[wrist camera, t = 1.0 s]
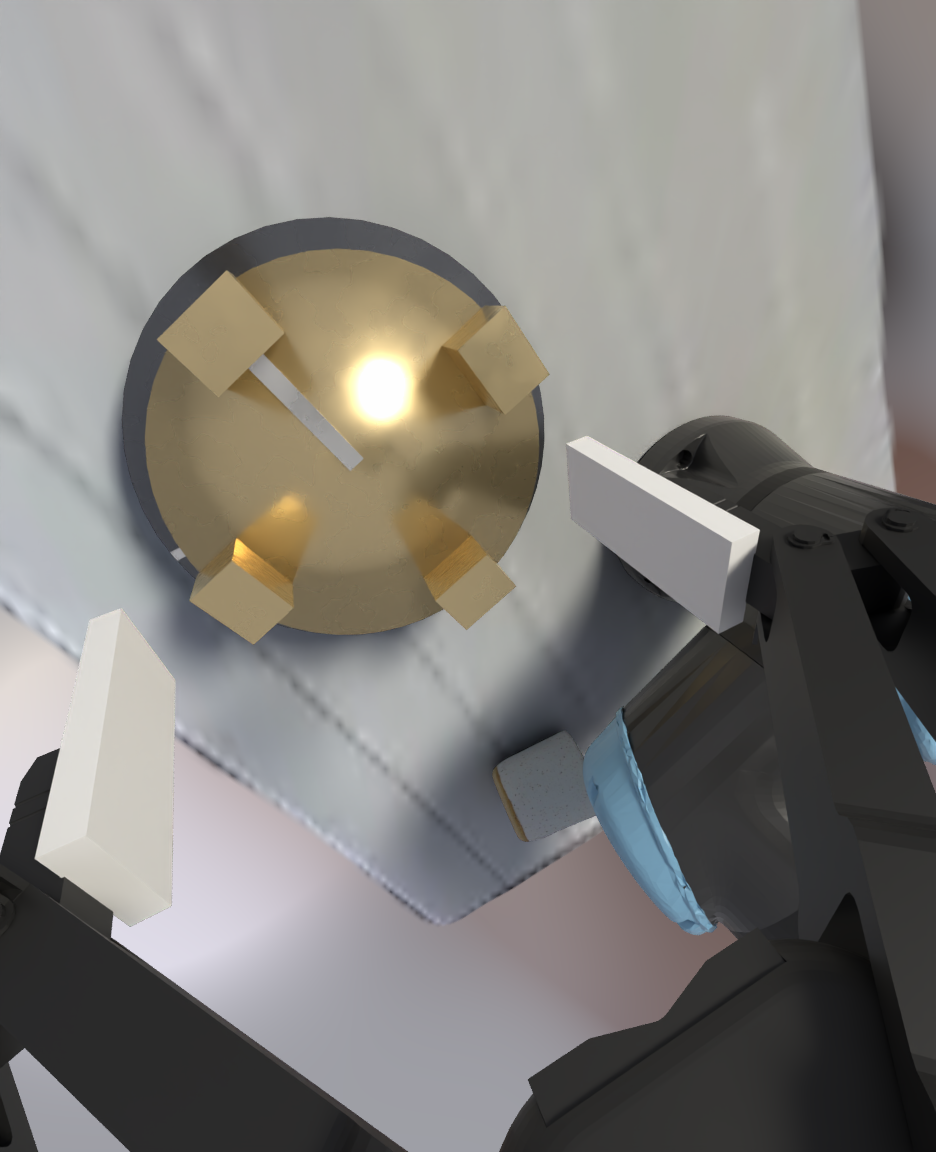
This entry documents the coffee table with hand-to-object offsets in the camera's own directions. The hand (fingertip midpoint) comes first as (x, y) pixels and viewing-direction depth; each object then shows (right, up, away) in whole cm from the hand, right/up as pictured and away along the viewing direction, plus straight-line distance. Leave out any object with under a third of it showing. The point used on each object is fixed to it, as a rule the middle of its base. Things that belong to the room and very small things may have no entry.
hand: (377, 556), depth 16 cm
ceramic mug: (+9, -19, +37) cm, 43 cm away
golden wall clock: (-4, +6, +16) cm, 18 cm away
